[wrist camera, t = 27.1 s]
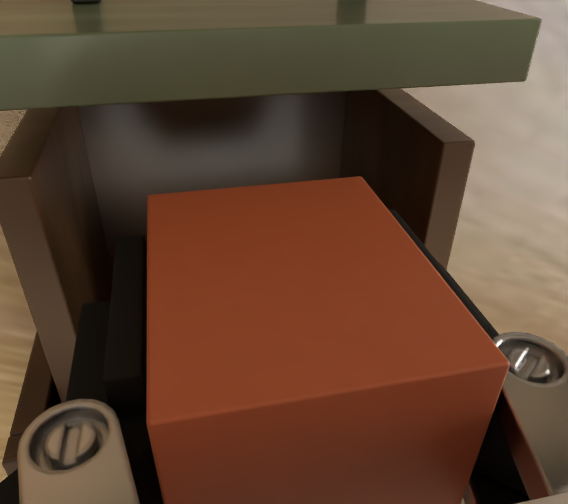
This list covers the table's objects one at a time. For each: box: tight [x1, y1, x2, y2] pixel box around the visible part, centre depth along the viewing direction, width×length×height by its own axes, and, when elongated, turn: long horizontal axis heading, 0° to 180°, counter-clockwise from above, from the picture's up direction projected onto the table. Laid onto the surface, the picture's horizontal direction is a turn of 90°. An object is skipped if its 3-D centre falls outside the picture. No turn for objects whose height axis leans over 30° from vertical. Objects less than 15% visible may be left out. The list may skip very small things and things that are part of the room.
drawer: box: [0, 0, 542, 403], centre depth 15 cm, size 19×11×8 cm, turn 179°
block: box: [146, 176, 510, 504], centre depth 9 cm, size 4×4×6 cm
